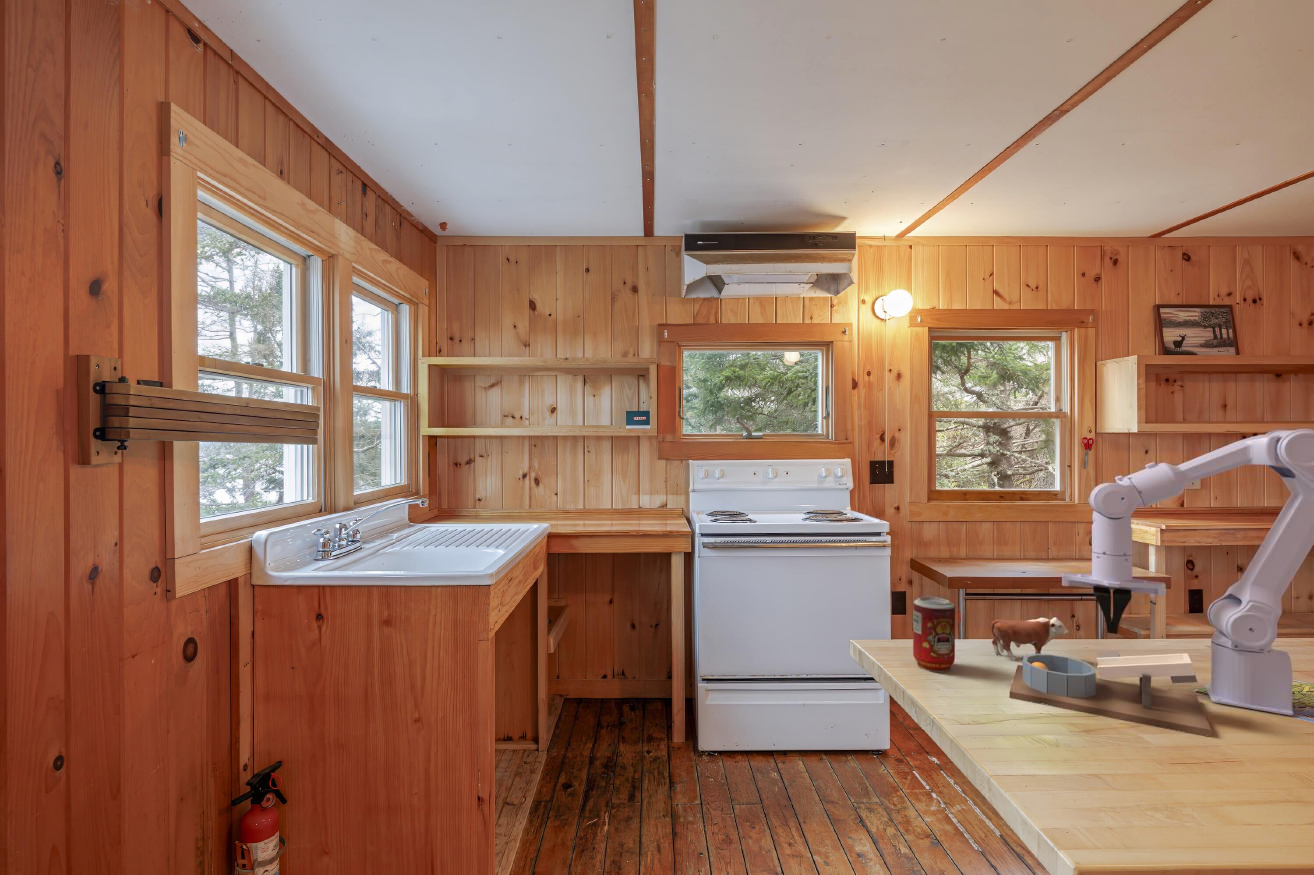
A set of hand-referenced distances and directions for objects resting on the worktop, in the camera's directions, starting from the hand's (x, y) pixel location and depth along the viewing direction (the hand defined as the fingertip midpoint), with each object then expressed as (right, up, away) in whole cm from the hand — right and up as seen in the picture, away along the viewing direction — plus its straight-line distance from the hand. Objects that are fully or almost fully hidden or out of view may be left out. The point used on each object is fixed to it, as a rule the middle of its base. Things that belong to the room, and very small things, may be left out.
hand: (1112, 632), depth 112 cm
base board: (-7, -9, -7) cm, 13 cm away
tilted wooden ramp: (0, -4, -7) cm, 8 cm away
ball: (-14, -6, -3) cm, 16 cm away
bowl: (-12, -9, -4) cm, 15 cm away
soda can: (-27, -9, +7) cm, 30 cm away
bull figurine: (-8, -9, +12) cm, 17 cm away
